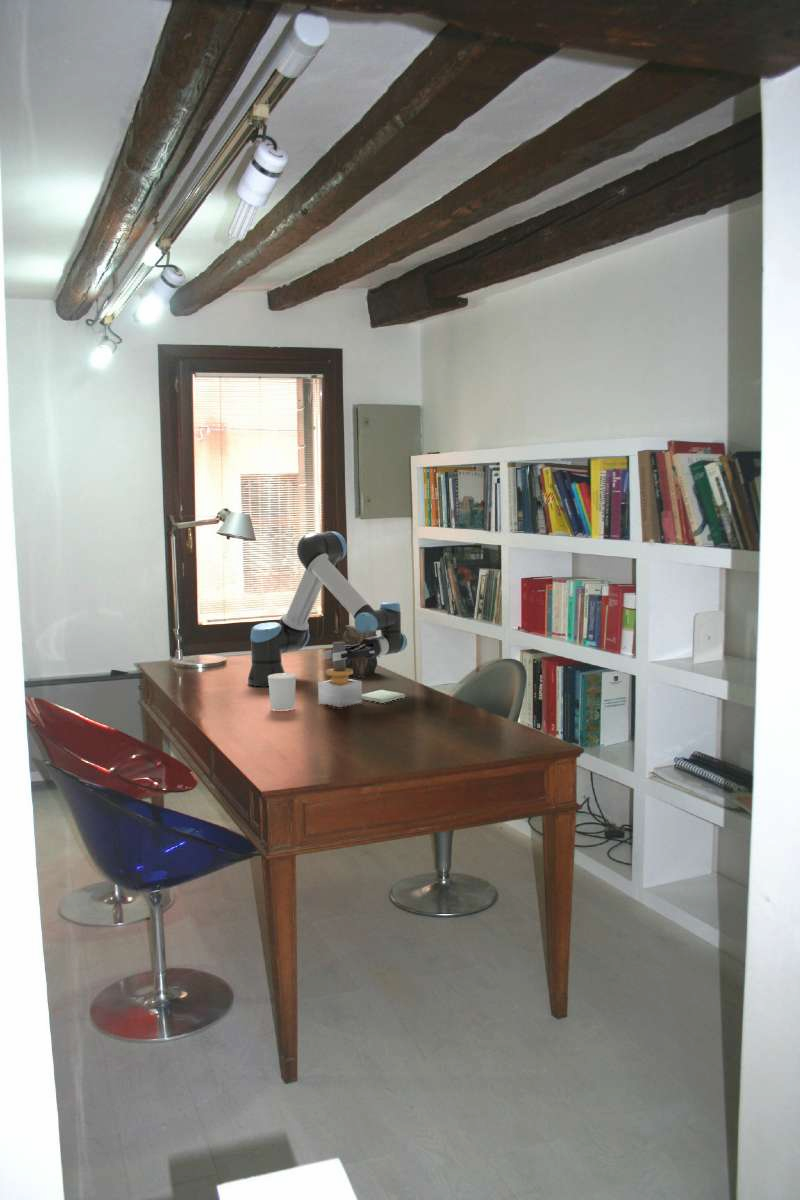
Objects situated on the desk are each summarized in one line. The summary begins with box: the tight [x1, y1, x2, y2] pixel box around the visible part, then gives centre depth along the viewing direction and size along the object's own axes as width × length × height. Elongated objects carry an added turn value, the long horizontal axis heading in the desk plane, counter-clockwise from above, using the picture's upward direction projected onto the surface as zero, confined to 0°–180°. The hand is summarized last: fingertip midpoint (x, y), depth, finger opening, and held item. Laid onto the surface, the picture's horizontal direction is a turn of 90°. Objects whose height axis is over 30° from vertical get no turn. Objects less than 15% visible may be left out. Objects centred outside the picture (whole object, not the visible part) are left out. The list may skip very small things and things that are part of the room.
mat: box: [362, 689, 406, 704], centre depth 383 cm, size 12×12×2 cm
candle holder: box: [268, 672, 297, 710], centre depth 368 cm, size 10×10×12 cm
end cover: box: [325, 641, 353, 685], centre depth 374 cm, size 10×10×17 cm
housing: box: [317, 678, 363, 707], centre depth 375 cm, size 11×11×8 cm
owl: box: [341, 624, 378, 678], centre depth 429 cm, size 13×13×20 cm
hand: (328, 656), depth 370 cm, fingers closed on end cover, 4 cm apart
